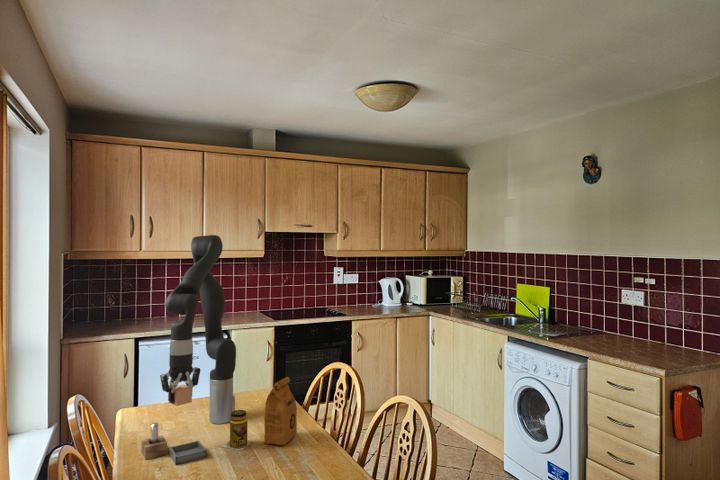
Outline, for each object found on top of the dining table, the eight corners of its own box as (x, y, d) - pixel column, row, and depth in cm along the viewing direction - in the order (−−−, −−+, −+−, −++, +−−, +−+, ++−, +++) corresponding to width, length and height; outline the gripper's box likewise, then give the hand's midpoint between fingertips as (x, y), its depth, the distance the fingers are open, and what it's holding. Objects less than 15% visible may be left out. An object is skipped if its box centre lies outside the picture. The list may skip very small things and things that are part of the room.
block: (191, 402, 168) (192, 387, 168) (176, 406, 164) (177, 391, 164) (183, 398, 171) (183, 384, 171) (168, 402, 167) (168, 387, 167)
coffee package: (301, 435, 183) (301, 377, 182) (284, 449, 171) (284, 386, 171) (278, 431, 186) (278, 374, 186) (260, 444, 175) (260, 383, 174)
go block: (162, 446, 172) (162, 435, 172) (167, 454, 166) (167, 442, 166) (141, 451, 168) (141, 440, 168) (145, 459, 162) (145, 447, 162)
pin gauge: (157, 450, 169) (157, 422, 169) (158, 453, 167) (158, 424, 167) (150, 452, 168) (150, 423, 167) (151, 454, 166) (151, 425, 166)
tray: (198, 447, 172) (198, 440, 172) (206, 457, 164) (206, 449, 164) (169, 454, 166) (169, 447, 166) (175, 464, 159) (175, 457, 159)
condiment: (241, 450, 170) (241, 416, 169) (220, 447, 172) (220, 413, 172) (252, 442, 176) (252, 409, 176) (232, 439, 179) (232, 406, 179)
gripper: (194, 347, 175) (193, 394, 175) (155, 353, 164) (154, 403, 164) (205, 350, 170) (204, 398, 170) (166, 357, 159) (165, 408, 159)
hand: (180, 400), depth 167 cm, fingers closed on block, 5 cm apart
